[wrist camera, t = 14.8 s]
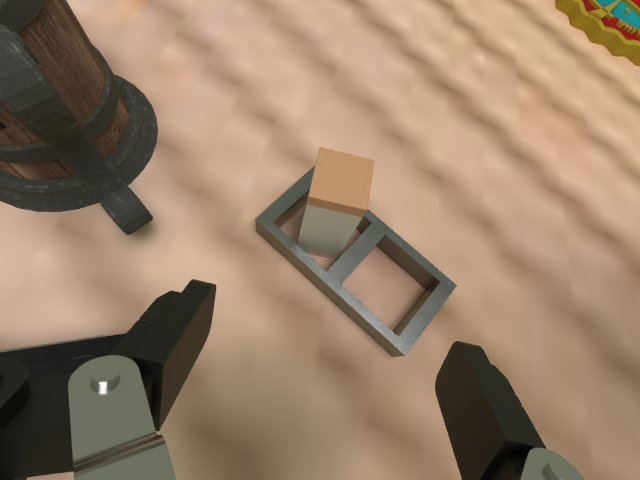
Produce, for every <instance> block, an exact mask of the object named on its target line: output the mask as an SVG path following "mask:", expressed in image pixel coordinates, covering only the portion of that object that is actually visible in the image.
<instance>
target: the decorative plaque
mask: <svg viewBox="0 0 640 480" xmlns="http://www.w3.org/2000/svg"><path fill="white" fill-rule="evenodd" d="M556 9H558V10H559V11H561V12H563V13H564V14H566V15H567V16H568V17H569V21H570V24H571V26H573V27H575V28H577V29H580V30H582V31H584V32H585V33H586V35H587V37H588V39H589V41H590V42H592V43H596V44H601V45H603V46H605V47H606V48H607V50H608V51H609V52H610V53H611V54H612V55H613V56H624V57H626V58H628V59H629V60H630V61H631V62H632V63H634V64H635V65H636V66H640V0H556Z"/></svg>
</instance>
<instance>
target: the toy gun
mask: <svg viewBox="0 0 640 480" xmlns="http://www.w3.org/2000/svg"><path fill="white" fill-rule="evenodd" d="M125 335H126V334H119V335H113V336H106V337H104V336H97V337H91V338H84V339H77V340H70V341H64V342H57V343H50V344H43V345H37V346H30V347H23V348H17V349H10V350H3V351H0V358H2V357H5V358H12V359H16V360H18V361H21V362H22V363H23V364H24V365H25V366H26V368H27V372H28V376H36V375H59V374H70V373H74V372H75V370H76V369H78V368H79V367H80V366H81V365H83V364H84V363H86V362H88V361H90V360H92V359H95V358H98V357H102V356H108V355H109V353H110V352H111V351H112V350H113V349H114V348H115V346H116V345H117V344H118V343H119V342H120V341H121V339H122V338H123V337H124V336H125Z"/></svg>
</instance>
